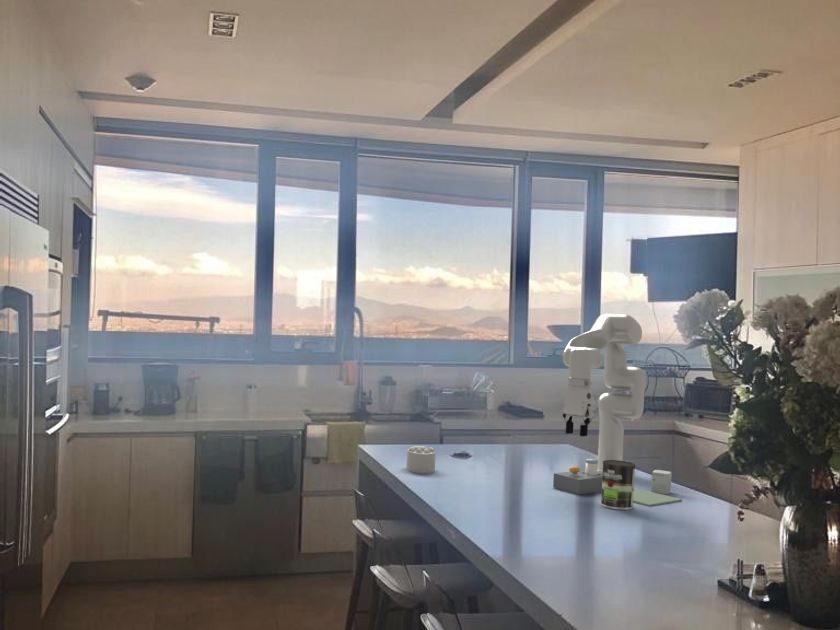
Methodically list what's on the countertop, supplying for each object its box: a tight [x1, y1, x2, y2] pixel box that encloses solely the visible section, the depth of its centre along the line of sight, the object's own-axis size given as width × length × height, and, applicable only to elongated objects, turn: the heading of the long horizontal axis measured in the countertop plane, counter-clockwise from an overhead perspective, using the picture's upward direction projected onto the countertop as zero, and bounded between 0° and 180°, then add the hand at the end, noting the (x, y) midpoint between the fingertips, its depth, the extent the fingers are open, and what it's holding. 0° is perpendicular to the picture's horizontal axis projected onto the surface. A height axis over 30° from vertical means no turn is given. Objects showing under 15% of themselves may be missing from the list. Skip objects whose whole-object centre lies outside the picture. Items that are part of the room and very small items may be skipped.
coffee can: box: [600, 460, 636, 511], centre depth 267 cm, size 10×10×14 cm
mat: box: [633, 488, 683, 507], centre depth 282 cm, size 18×18×1 cm
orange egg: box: [568, 465, 581, 477], centre depth 290 cm, size 4×4×6 cm
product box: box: [650, 469, 673, 495], centre depth 295 cm, size 6×6×7 cm
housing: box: [552, 469, 603, 495], centre depth 293 cm, size 18×12×5 cm, turn 127°
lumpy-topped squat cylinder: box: [406, 445, 437, 474], centre depth 313 cm, size 10×13×9 cm
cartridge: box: [584, 458, 598, 476], centre depth 296 cm, size 4×4×10 cm
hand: (576, 434), depth 290 cm, fingers open, 5 cm apart
